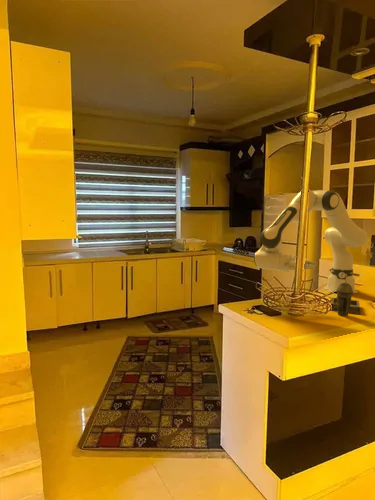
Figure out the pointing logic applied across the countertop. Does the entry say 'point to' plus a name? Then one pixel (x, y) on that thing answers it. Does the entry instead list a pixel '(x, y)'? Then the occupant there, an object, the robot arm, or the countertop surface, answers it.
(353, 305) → the dock plate
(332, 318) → the countertop surface
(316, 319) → the countertop surface
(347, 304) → the beverage cup
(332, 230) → the robot arm
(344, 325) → the countertop surface
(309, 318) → the countertop surface
